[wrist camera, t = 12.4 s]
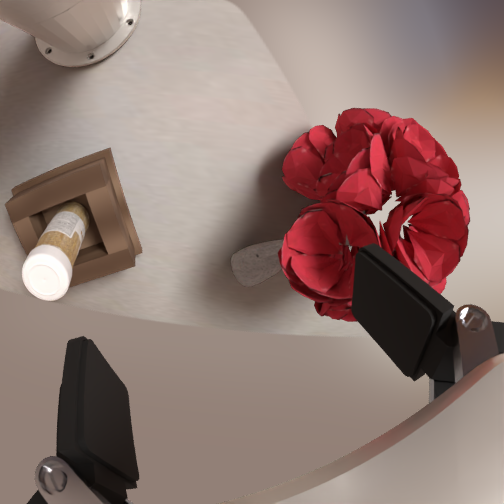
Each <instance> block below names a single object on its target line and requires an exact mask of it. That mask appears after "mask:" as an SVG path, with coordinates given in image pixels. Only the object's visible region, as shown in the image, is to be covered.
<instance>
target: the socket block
mask: <svg viewBox="0 0 504 504" xmlns="http://www.w3.org/2000/svg"><path fill="white" fill-rule="evenodd" d="M12 193H13V197H12V198H11V199H10V200H9V201H8V202H7V203H6V204H5V206H6V209H7V211H8V214H9V216H10V219H11V221H12V223H13V226H14V228H15V230H16V233H17V235H18V237H19V239H20V242H21V244H22V246H23V248H24V250H25V252H26V254H27V256H28V255H29V253H30V252H31V251H32V250H33V249H34V248H35V247H36V245H37V243H38V241H39V239H40V237H41V235H42V234H43V232H44V231H45V229H46V228H47V226H48V225H49V223H50V222H51V220H52V219H53V217H54V216H55V215H56V214H57V211H58V209H59V208H60V207H61V206H62V205H63V204H65V203H66V202H77V203H80V204H81V205H83V206H84V207H85V209H86V210H87V211H88V214H89V218H90V223H89V227H88V229H87V231H86V232H85V236H84V239H83V241H82V244H81V247H80V249H79V252H78V255H77V257H76V260H75V262H74V265H73V268H72V278H71V281H70V285H69V287H72V286H75V285H78V284H81V283H84V282H87V281H90V280H94V279H97V278H100V277H103V276H106V275H109V274H112V273H115V272H118V271H122V270H125V269H128V268H131V267H134V266H135V255H137V254H141V253H142V247H141V244H140V241H139V239H138V236H137V233H136V230H135V227H134V224H133V221H132V218H131V215H130V212H129V209H128V206H127V203H126V200H125V197H124V194H123V190H122V187H121V184H120V180H119V177H118V174H117V170H116V167H115V163H114V159H113V156H112V152H111V148H108V149H105V150H102V151H99V152H96V153H94V154H91V155H88V156H85V157H83V158H80V159H78V160H75V161H72V162H70V163H67V164H65V165H62V166H60V167H58V168H55V169H53V170H51V171H48V172H46V173H44V174H41V175H39V176H37V177H35V178H33V179H30V180H28V181H26V182H24V183H22V184H20V185H18V186H16V187H14V188H13V189H12Z"/></svg>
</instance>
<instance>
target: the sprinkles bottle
mask: <svg viewBox="0 0 504 504" xmlns="http://www.w3.org/2000/svg"><path fill="white" fill-rule="evenodd" d="M89 223H90V218H89V214H88V211H87V210H86V209H85V207H84V206H83V205H81V204H80V203H77V202H66V203H65V204H63V205H62V206H61V207H60V208H59V209H58V211H57V214H56V215H55V216H54V217H53V219H52V220H51V222H50V223H49V225H48V226H47V228H46V229H45V231H44V232H43V234H42V235H41V237H40V239H39V241H38V243H37V245H36V247H35V248H34V249H33V250H32V251H31V252H30V253H29V255H28V256H27V258H26V260H25V262H24V264H23V267H22V279H23V282H24V284H25V286H26V288H27V289H28V290H29V292H30V293H32V294H33V295H34V296H36V297H37V298H39V299H42V300H46V301H53V300H57V299H59V298H61V297H62V296H63V295H64V294H65V293H66V292H67V290H68V288H69V285H70V281H71V278H72V268H73V265H74V262H75V260H76V257H77V255H78V252H79V249H80V247H81V244H82V241H83V239H84V236H85V232H86V231H87V229H88V227H89Z"/></svg>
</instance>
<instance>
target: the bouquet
mask: <svg viewBox="0 0 504 504" xmlns="http://www.w3.org/2000/svg"><path fill="white" fill-rule="evenodd" d="M335 129H336V132H337V137H336V136H335V135H334V134H333V132H332V130H331V129H329V128H327V127H325V126H324V125H319V126H315V127H313V128H312V129H310V132H307V133H304V134H303V135H301V136H300V137H299V138H298V139H297V140H296V141H295V143H294V144H293V146H292V148H291V150H290V151H289V152H288V154H287V156H286V157H285V159H284V163H283V167H282V171H283V173H284V175H285V176H282V180H283V181H284V182H285V184H286V185H287V186H288V187H289V188H290V189H292V190H294V191H296V192H298V193H300V194H302V195H303V196H305V197H307V198H309V199H313V200H321V201H320V203H317V204H313V205H310V206H307V207H305V208H302V210H301V212H300V214H299V216H298V219H297V220H296V221H295V223H294V224H293V226H292V227H291V228H290V230H289V231H288V232H287V233H286V234H285V237H284V239H281V240H275V241H268V242H263V243H258V244H255V245H251V246H248V247H246V248H243V249H241V250H239V251H238V252H236V253H234V254H233V256H232V258H231V267H232V271H233V273H234V276H235V278H236V279H237V280H238V282H239V283H240V284H242V285H243V286H245V287H250V286H253V285H256V284H259V283H262V282H263V281H265V280H267V279H268V278H270V277H272V276H273V275H275V274H276V273H278V272H279V271H280V270H282V269H283V271H284V274H285V276H286V278H288V280H289V282H290V285H291V287H292V289H294V290H295V291H297V292H298V293H300V294H301V295H303V296H305V297H307V298H309V299H311V300H313V301H315V304H314V306H315V309H316V311H317V313H318V314H319V315H321V316H324V315H325V316H329V317H331V318H332V319H337V320H340V319H342V320H345V321H347V322H353V321H357V320H356V319H355V318H354V316H353V314H352V311H351V305H352V295H353V283H354V270H355V256H356V254H357V253H358V250H359V249H360V248H361V247H364V246H366V245H369V244H372V243H375V244H377V245H378V246H380V247H381V248H382V249H384V250H385V251H386V252H388V253H389V254H390V255H392V256H393V257H394V258H396V259H397V260H398V261H399V262H401V263H402V264H403V265H405V266H406V267H407V268H408V269H410V270H411V271H412V272H414V273H415V274H416V275H417V276H419V277H420V278H421V279H422V280H424V281H425V282H426V283H427V284H428V285H430V286H431V287H432V288H433V289H435V290H436V291H437V292H438V293H439V294H441V293H442V291H443V290H444V289H445V285H446V277H447V276H448V275H449V274H450V273H452V272H453V270H454V269H455V268H456V266H457V264H458V263H459V262H460V257H462V256H463V253H464V251H465V248H466V246H467V240H468V224H469V222H470V216H469V209H470V208H469V203H468V199H467V197H466V196H465V194H464V193H463V191H462V190H460V187H461V181H460V179H458V178H459V174H458V170H457V166H456V165H455V163H454V162H453V160H452V159H451V158H450V157H448V156H447V154H446V152H445V150H444V148H443V147H442V146H441V145H440V144H439V143H438V142H437V141H436V140H435V139H434V138H433V137H432V136H431V134H430V133H429V132H428V130H426V129H425V128H423V127H422V126H421V125H419V124H418V123H417V122H416V121H415V120H414V119H413V118H408V119H402V118H399V117H395V116H391V115H390V114H389V113H388V112H385V111H382V110H379V109H361V108H351V109H348V110H345V111H343V112H342V114H341V116H340V114H338V119H337V122H336V126H335ZM393 190H396V197H399V198H398V199H397V200H396V201H401V203H400V204H398V205H397V206H396V207H395V208H394V209H393V210H391V211H390V212H389V216H388V219H387V222H385V223H384V224H383V227H384V230H383V227H382V225H381V222H380V235H379V236H378V233H377V230H376V228H375V226H374V224H373V222H372V221H371V219H370V217H367V216H366V215H367V214H374V213H375V212H376V211H378V210H382V206H383V205H384V204H385V203H386V202H387V201H388V200H389V199H390V198H391V197H389V196H390V195H392V192H391V191H393ZM400 196H401V197H400ZM411 215H413V216H412V218H411V219H410V220H409V221H408V223H411V224H408V225H409V227H407V226H404V225H403V232H404V239H403V238H401V236H400V231H401V226H402V224H403V223H404V222H405V221H406V220H407V219H408V218H409V216H411ZM349 245H350V246H352V249H351V252H350V250H349Z"/></svg>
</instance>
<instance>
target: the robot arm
mask: <svg viewBox="0 0 504 504" xmlns="http://www.w3.org/2000/svg"><path fill="white" fill-rule="evenodd" d="M140 13H141V0H0V20H2V21H4V22H6V23H8V24H10V25H12V26H14V27H16V28H18V29H20V30H22V31H24V32H26V33H28V34H30V35H32V36H34V37H35V41H36V45H37V47H38V49H39V51H40V52H41V54H42V55H43V56H44V57H45V58H46V59H48V60H49V61H51V62H52V63H55V64H57V65H61V66H65V67H80V66H87V65H90V64H93V63H96V62H98V61H100V60H102V59H104V58H106V57H108V56H109V55H111V54H112V53H114V52H115V51H116V50H118V49H119V48H120V47H121V46H122V45H123V44H124V43H125V42H126V41H127V40H128V38H129V37H130V36H131V34H132V33H133V31H134V29H135V28H136V26H137V23H138V21H139V18H140ZM130 22H132V25H128V23H130ZM50 50H52V52H51V53H50V54H49V51H50ZM92 55H94V58H93V59H90V57H91V56H92ZM453 308H454V305H452V304H451V303H450V302H449V301H448V300H446V299H445V298H444V297H443V296H442V295H441V294H439V293H438V292H437V291H436V290H435V289H433V288H432V287H431V286H430V285H428V284H427V283H426V282H425V281H424V280H422V279H421V278H420V277H419V276H417V275H416V274H415V273H414V272H412V271H411V270H410V269H408V268H407V267H406V266H405V265H403V264H402V263H401V262H399V261H398V260H397V259H396V258H394V257H393V256H392V255H390V254H389V253H388V252H386V251H385V250H384V249H382V248H381V247H380V246H378V245H377V244H375V243H372V244H369V245H366V246H364V247H361V248H360V249H359V250H358V253H357V254H356V256H355V270H354V283H353V295H352V305H351V311H352V314H353V316H354V318H355V319H356V320H357V321H358V322H359V323H360V324H361V325H362V327H363V328H364V329H365V330H366V331H367V332H368V333H369V335H370V336H371V337H372V338H373V339H374V340H375V341H376V342H377V343H378V345H379V346H380V347H381V348H382V349H383V350H384V351H385V353H386V354H387V355H388V356H389V357H390V358H391V360H392V361H393V362H394V363H395V364H396V366H397V367H398V368H399V369H400V370H401V371H402V373H403V374H404V375H405V376H407V377H409V376H410V377H411V378H412V379H413V381H416V380H417V379H419V378H420V377H421V376H423V375H424V374H425V373H426V374H427V375H428V376H429V404H428V405H426V406H425V407H424V408H422V409H421V410H420V411H418V412H417V413H415V414H414V415H412V416H411V417H409V418H408V419H406V420H405V421H403V422H402V423H400V424H399V425H397V426H396V427H394V428H393V429H391V430H389V431H388V432H386V433H384V434H383V435H381V436H379V437H378V438H376V439H374V440H373V441H371V442H369V443H367V444H366V445H364V446H362V447H360V448H358V449H357V450H355V451H353V452H351V453H349V454H347V455H345V456H343V457H341V458H339V459H337V460H335V461H333V462H331V463H329V464H327V465H325V466H323V467H320V468H318V469H316V470H314V471H311V472H309V473H307V474H305V475H302V476H300V477H297V478H295V479H293V480H290V481H287V482H284V483H282V484H279V485H276V486H274V487H271V488H268V489H265V490H262V491H259V492H256V493H253V494H250V495H247V496H243V497H240V498H237V499H233V500H230V501H226V502H222V503H218V504H504V323H502V322H493V321H491V319H490V317H489V315H488V314H487V312H486V311H485V310H483V309H482V308H481V307H478V306H476V305H471V304H470V305H463V306H461V307H459V308H458V309H457V311H456V313H455V312H454V311H453ZM56 455H57V457H56V456H50V457H47V458H45V459H43V460H42V461H41V462H40V463H39V465H38V466H37V468H36V471H35V482H36V486H37V488H38V491H37V492H36V493H35V494H34V495H33V497H32V498H31V499H30V501H29V502H28V503H27V504H133V503H132V502H131V501H130V500H128V499H127V493H126V489H133V488H137V484H136V481H138V480H139V472H138V467H137V461H136V454H135V447H134V440H133V433H132V425H131V416H130V406H129V395H128V391H127V388H126V387H125V385H124V384H123V382H122V381H121V380H120V379H119V377H118V376H117V375H116V373H115V372H114V371H113V369H112V368H111V367H110V365H109V364H108V362H107V361H106V360H105V358H104V357H103V355H102V354H101V353H100V351H99V350H98V348H97V347H96V345H95V344H94V342H93V341H92V340H91V339H88V340H87V338H86V337H84V336H82V337H79V338H75V339H71V340H69V341H68V343H67V349H66V355H65V362H64V370H63V378H62V384H61V387H60V394H59V405H58V420H57V453H56Z"/></svg>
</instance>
